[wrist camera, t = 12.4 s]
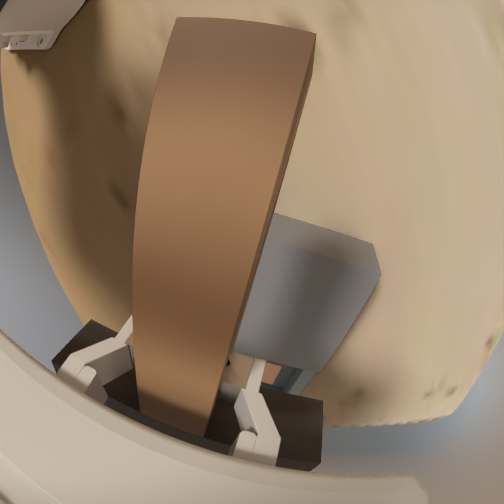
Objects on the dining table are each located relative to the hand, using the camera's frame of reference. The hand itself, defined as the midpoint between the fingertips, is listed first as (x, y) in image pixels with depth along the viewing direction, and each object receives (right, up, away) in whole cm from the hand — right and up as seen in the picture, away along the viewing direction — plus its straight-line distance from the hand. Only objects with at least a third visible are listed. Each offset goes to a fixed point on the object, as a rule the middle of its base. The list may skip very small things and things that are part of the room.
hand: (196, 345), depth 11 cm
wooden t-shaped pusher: (+1, +4, -1) cm, 4 cm away
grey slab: (+3, +2, +18) cm, 18 cm away
